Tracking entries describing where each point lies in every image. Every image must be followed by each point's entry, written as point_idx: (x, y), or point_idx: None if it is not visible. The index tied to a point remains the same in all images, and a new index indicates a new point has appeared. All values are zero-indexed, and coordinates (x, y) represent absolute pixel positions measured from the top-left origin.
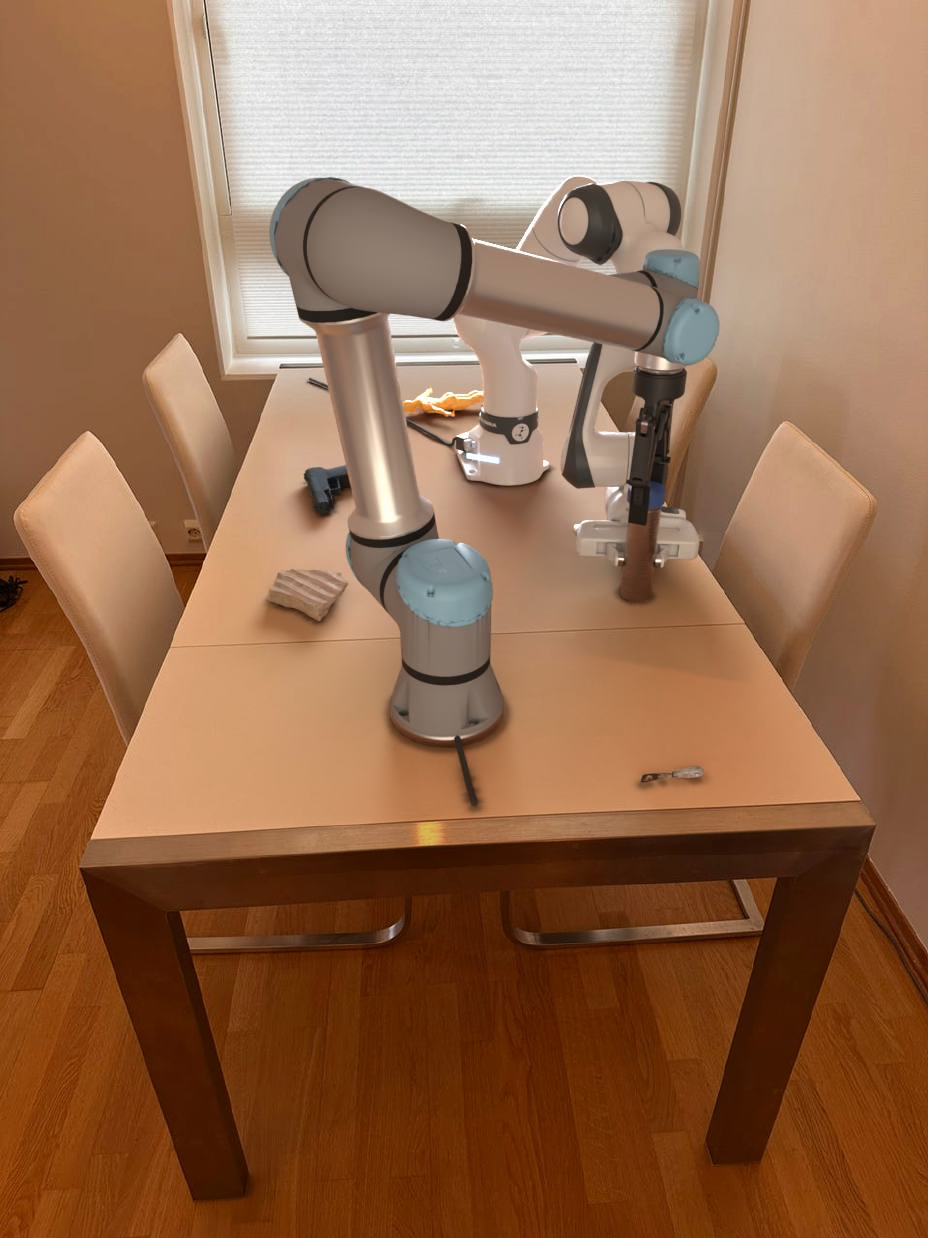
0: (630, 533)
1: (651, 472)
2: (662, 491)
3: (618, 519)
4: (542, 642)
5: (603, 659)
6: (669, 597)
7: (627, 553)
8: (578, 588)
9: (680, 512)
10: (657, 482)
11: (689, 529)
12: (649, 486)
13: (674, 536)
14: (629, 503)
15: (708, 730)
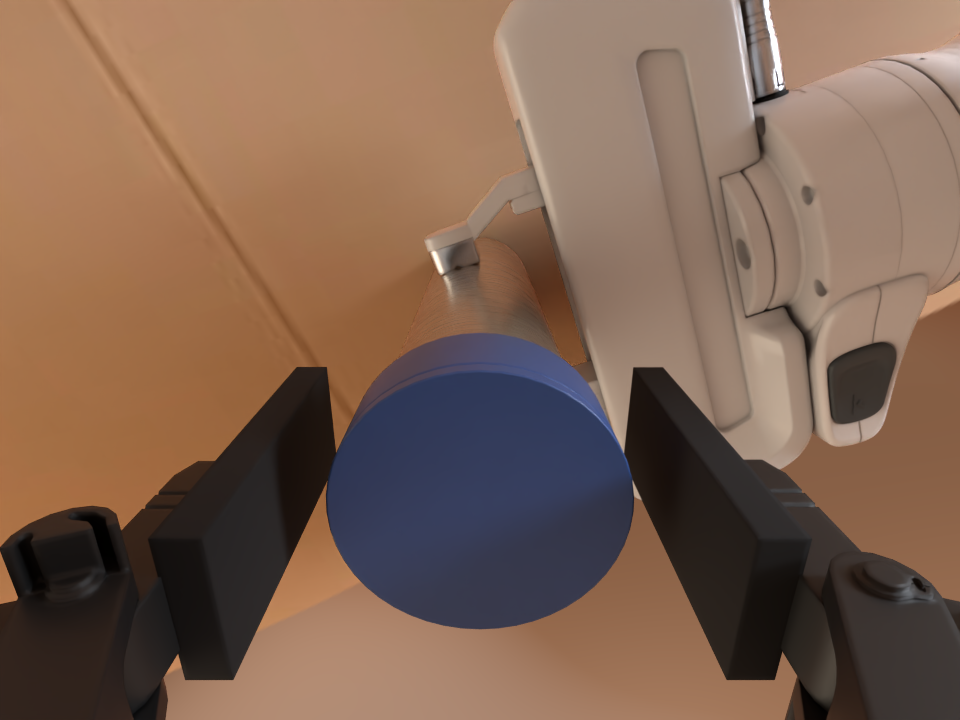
0: (411, 330)
1: (706, 530)
2: (462, 613)
3: (768, 155)
4: (55, 91)
5: (95, 298)
6: None
7: (426, 295)
8: (441, 88)
9: (850, 427)
10: (669, 528)
11: None
12: (185, 673)
13: None
14: (383, 372)
15: (3, 564)
